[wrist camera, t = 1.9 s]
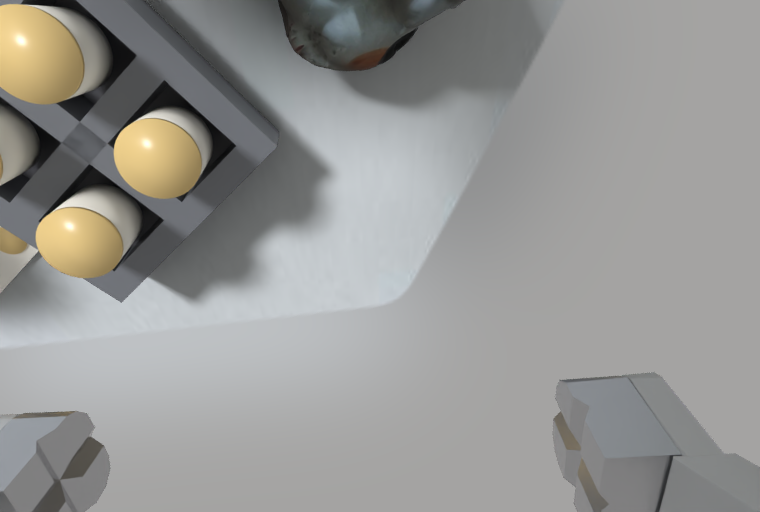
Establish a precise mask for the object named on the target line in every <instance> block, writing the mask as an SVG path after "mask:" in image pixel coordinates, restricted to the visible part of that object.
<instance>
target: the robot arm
mask: <svg viewBox="0 0 760 512" xmlns="http://www.w3.org/2000/svg"><path fill="white" fill-rule="evenodd" d="M555 399H556V401H557V403H558V405H559V408H560V410H561V412H560V413H559V414H558V415H557V416H556V417H555V418H554V420H553V421H554V422H553V440H554V448H555V453H556V457H557V460H558V464H559V466H560V469H561V472H562V475H563V477H564V478H565V479H566V480H567V481H568V482H570V483H571V484H572V485H574V486H575V487H576V490H575V499H574V505H575V507H576V510H577V512H760V467H759V466H757V465H755V464H753V463H751V462H750V461H748V460H746V459H744V458H742V457H741V456H739V455H737V454H724V453H723V452H722V450H721V449H720V448H719V447H718V445H717V444H716V443H715V442H714V440H713V439H712V438H711V437H710V435H709V434H708V433H707V432H706V431H705V429H704V428H703V427H702V426H701V425H700V423H699V422H698V421H697V420H696V418H695V417H694V416H693V415H692V413H691V412H690V411H689V410H688V409H687V407H686V406H685V405H684V404H683V402H682V401H681V400H680V399H679V397H678V396H677V395H676V394H675V393H674V391H673V390H672V389H671V388H670V386H669V385H668V384H667V383H666V382H665V380H664V379H663V378H662V377H661V376H660V375H658V374H656V373H642V374H631V375H622V376H609V377H595V378H582V379H567V380H559V382H558V385H557V388H556V398H555ZM94 428H95V427H94V425H93V423H92V421H91V420H90V418H89V416H88V414H87V413H83V412H78V411H70V412H45V413H24V414H10V415H0V512H85V511H86V510H87V509H89V508H90V507H91V506H93V505H94V504H95V503H96V502H97V501H98V499H99V497H100V496H101V494H102V492H103V491H104V489H105V487H106V484H107V480H108V476H109V472H110V462H109V455H108V453H107V451H106V449H105V447H104V445H102V444H101V443H99V442H98V441H96V440H95V439H94V438H92V437H91V436H92V433H93V430H94Z"/></svg>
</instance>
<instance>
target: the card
mask: <svg viewBox="0 0 760 512" xmlns="http://www.w3.org/2000/svg"><path fill="white" fill-rule="evenodd" d="M38 251H39V250H37V249H36V248H34V247H32V246H31V245H29V244H28V243H26V242H25V241H23V240H21V239H20V238H18V237H17V236H15V235H13V234H12V233H10V232H9V231H7V230H6V229H4V228H2V227H1V226H0V293H1V292H2V291H3V290H4V289H5V288H6V286H7V285H8V284H9V283H10V282H11V281H12V280H13V279H14V278H15V277H16V276H17V274H18V273H19V272H20V271H21V270H22V269H23V268H24V267H25V266H26V265H27V263H28V262H29V261H30V260H31V259H32V258H33V257H34V256H35V255H36V254H37V252H38Z"/></svg>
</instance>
